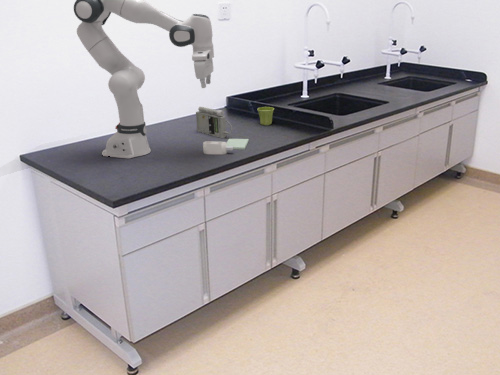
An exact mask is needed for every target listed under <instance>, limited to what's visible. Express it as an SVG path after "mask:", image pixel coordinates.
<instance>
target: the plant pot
mask: <svg viewBox="0 0 500 375" xmlns="http://www.w3.org/2000/svg"><path fill="white" fill-rule="evenodd" d="M274 110H275V108H274V107H270V106H262V107H258V108H257V110H256V111H257V113H258V116H259V123H260V125H262V126H263V125H264V126H270V125H272V122H273V113H274Z"/></svg>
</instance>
